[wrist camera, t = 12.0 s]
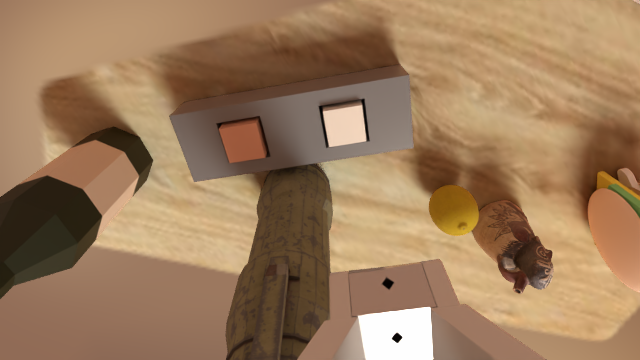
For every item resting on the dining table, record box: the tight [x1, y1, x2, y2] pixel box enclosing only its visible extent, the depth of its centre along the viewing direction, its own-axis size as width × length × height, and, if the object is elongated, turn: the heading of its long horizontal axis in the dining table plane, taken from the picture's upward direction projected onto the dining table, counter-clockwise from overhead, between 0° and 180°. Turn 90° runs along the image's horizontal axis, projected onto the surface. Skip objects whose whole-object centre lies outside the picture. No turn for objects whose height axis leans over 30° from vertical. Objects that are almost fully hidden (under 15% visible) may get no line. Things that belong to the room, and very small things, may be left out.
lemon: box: [429, 185, 479, 236], centre depth 46 cm, size 6×6×8 cm
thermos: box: [226, 164, 333, 360], centre depth 34 cm, size 9×12×35 cm
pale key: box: [323, 99, 366, 147], centre depth 41 cm, size 4×4×4 cm
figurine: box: [472, 200, 553, 294], centre depth 47 cm, size 7×7×12 cm
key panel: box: [169, 64, 414, 182], centre depth 43 cm, size 25×8×5 cm, turn 100°
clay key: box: [219, 116, 268, 163], centre depth 42 cm, size 4×4×4 cm
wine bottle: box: [0, 127, 153, 299], centre depth 34 cm, size 8×8×30 cm
